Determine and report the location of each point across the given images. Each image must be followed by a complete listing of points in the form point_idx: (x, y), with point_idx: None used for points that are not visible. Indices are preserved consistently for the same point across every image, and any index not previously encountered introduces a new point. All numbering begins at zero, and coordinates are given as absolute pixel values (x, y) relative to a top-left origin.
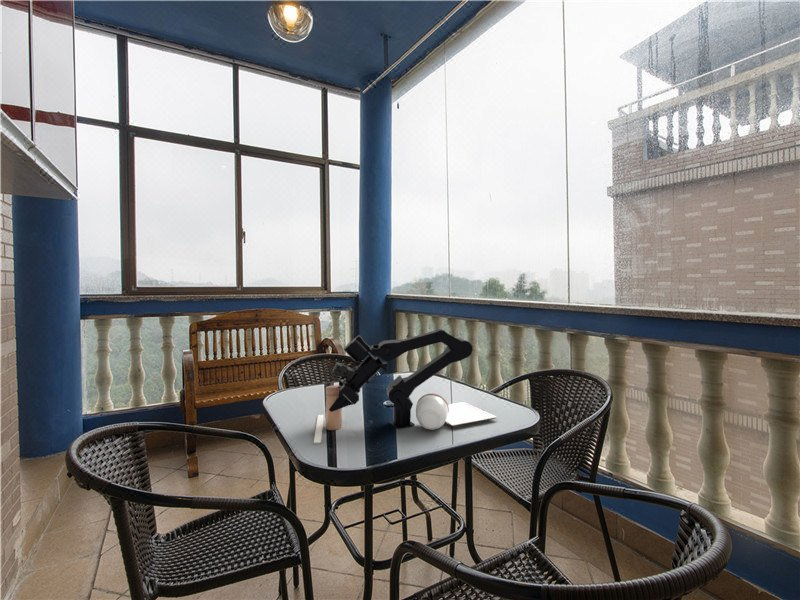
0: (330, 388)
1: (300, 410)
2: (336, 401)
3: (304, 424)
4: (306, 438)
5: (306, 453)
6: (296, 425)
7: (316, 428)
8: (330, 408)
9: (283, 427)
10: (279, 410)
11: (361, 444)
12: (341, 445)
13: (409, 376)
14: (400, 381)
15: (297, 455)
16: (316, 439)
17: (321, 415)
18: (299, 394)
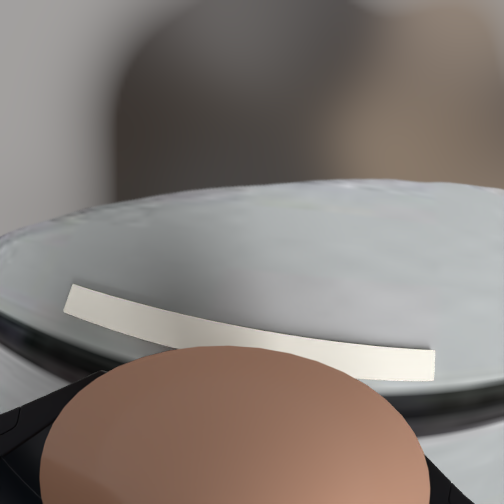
0: (139, 445)
1: (487, 275)
2: (11, 417)
3: (329, 279)
4: (139, 267)
5: (28, 249)
6: (323, 243)
7: (231, 327)
8: (87, 379)
9: (308, 194)
10: (477, 206)
11: None
12: (24, 381)
13: None
14: None
15: (33, 224)
16: (92, 300)
17: (425, 368)
18: None
